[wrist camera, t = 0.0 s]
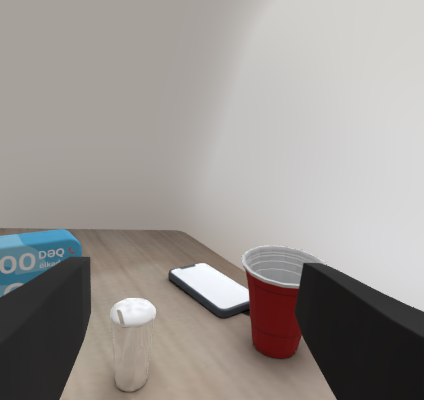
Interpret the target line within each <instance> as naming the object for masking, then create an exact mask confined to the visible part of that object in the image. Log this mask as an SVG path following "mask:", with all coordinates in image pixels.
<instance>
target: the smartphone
mask: <svg viewBox="0 0 424 400" xmlns="http://www.w3.org/2000/svg"><path fill="white" fill-rule="evenodd" d="M169 279H170V280H172V281H173V282H174V283H176V284H177V285H178V286H179V287H181V288H182V289H183V290H185V291H186V292H187V293H188V294H190V295H191V296H192V297H194V298H195V299H196V300H197V301H199V302H200V303H201V304H203V305H204V306H205V307H206V308H208V309H209V310H210V311H212V312H213V313H214V314H215V315H217V316H218V317H222V318H227V317H230V316H232V315H235V314H238V313H240V312H243V311H246V310H248V309H250V304H249V290H248V289H247V288H245V287H244V286H242V285H240V284H239V283H237V282H235V281H234V280H232V279H231V278H229V277H227V276H226V275H224V274H222V273H221V272H219V271H217V270H216V269H214V268H213V267H211V266H209V265H208V264H206V263H197V264H193V265H189V266H184V267H180V268H176V269H172V270H170V271H169Z"/></svg>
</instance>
